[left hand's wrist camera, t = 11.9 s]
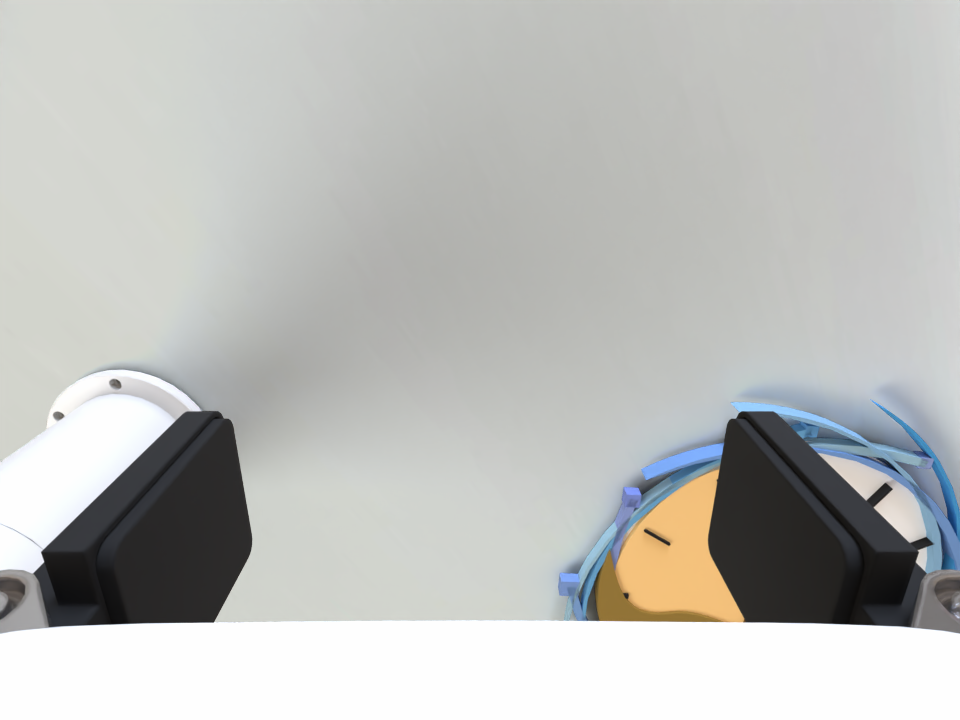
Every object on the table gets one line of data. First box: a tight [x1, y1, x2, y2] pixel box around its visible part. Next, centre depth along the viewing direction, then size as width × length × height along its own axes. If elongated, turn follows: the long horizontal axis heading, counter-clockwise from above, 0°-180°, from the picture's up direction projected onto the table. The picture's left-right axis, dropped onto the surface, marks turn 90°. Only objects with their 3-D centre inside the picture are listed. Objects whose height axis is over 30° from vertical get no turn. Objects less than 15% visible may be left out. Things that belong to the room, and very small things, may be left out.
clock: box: [558, 399, 960, 623], centre depth 50 cm, size 34×35×2 cm
